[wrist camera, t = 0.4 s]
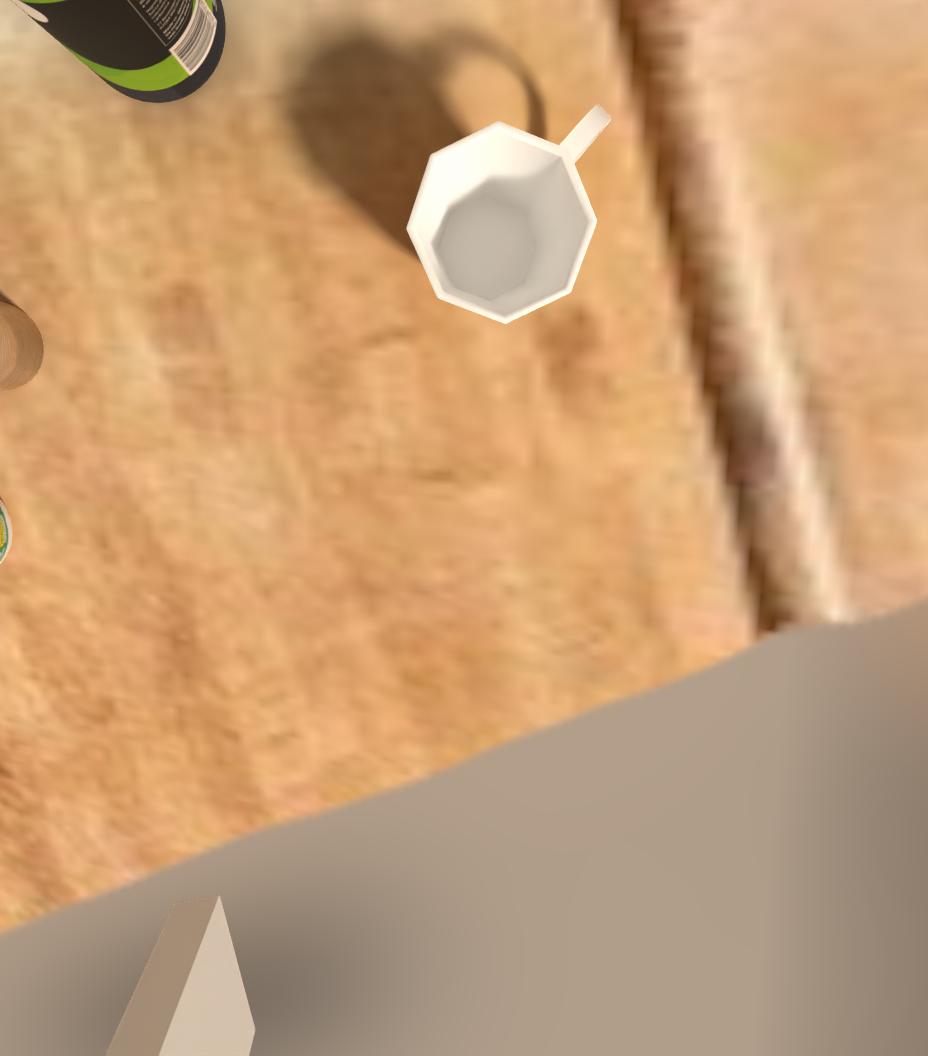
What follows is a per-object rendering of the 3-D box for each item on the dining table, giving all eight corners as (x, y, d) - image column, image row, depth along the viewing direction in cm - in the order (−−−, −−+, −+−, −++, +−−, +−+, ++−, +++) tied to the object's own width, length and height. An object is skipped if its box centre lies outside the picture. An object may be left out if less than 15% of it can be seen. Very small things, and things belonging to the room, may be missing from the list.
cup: (378, 256, 37) (365, 229, 29) (526, 84, 36) (555, 6, 28) (489, 361, 38) (507, 363, 30) (636, 198, 37) (694, 155, 29)
